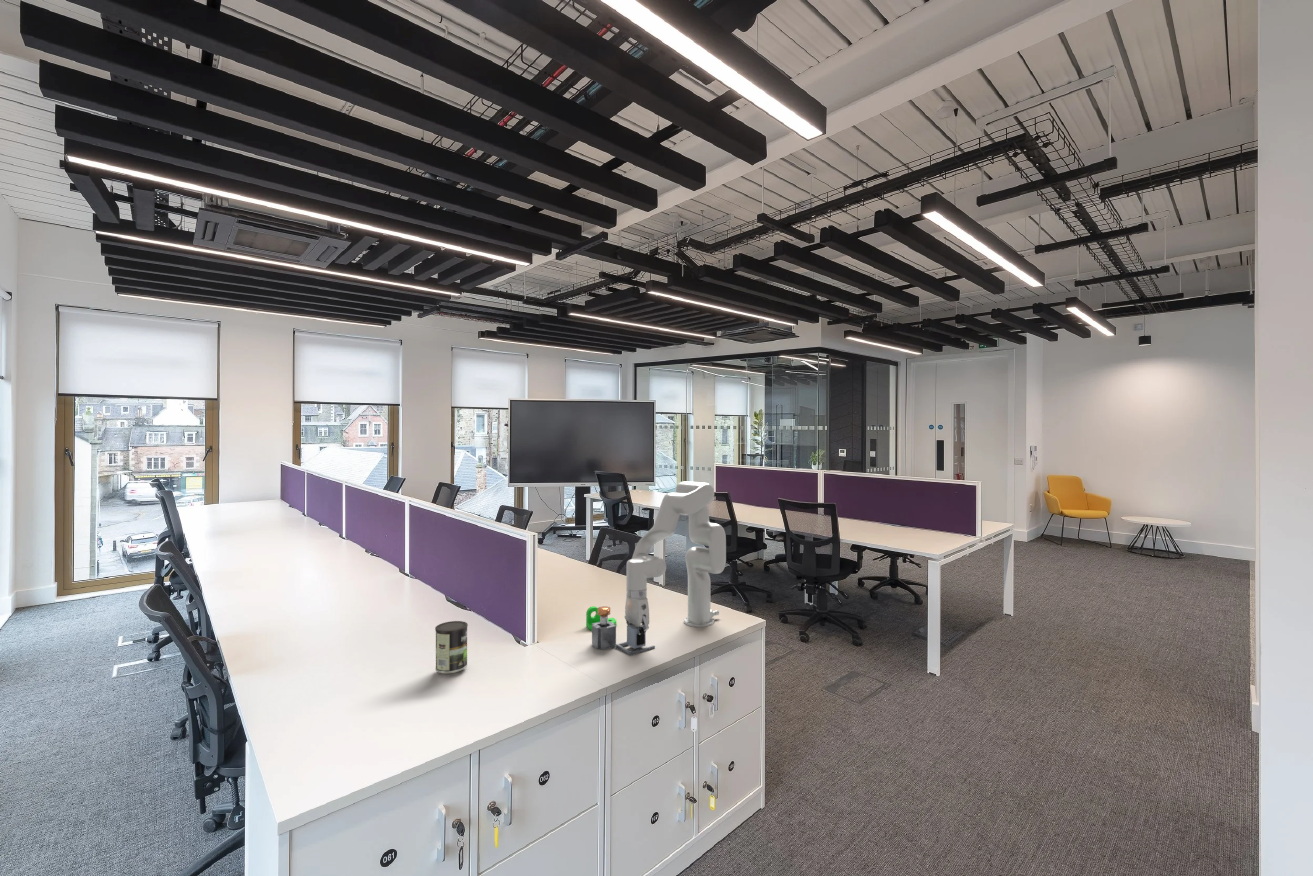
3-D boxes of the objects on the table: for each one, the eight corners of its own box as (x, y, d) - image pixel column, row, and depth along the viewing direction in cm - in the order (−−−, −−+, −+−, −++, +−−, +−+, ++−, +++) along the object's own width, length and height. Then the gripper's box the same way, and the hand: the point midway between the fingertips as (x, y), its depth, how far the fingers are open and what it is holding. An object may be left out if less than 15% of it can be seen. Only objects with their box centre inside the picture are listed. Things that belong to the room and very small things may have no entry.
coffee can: (469, 660, 189) (470, 619, 189) (464, 672, 179) (464, 630, 179) (439, 662, 187) (439, 621, 187) (431, 674, 177) (431, 632, 177)
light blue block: (638, 641, 202) (638, 619, 202) (645, 645, 198) (645, 622, 198) (626, 644, 199) (626, 621, 199) (634, 648, 195) (634, 625, 195)
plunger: (606, 627, 206) (606, 605, 206) (612, 631, 202) (612, 608, 202) (595, 630, 203) (595, 607, 203) (601, 634, 199) (601, 611, 199)
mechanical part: (590, 631, 218) (590, 611, 218) (586, 626, 224) (586, 607, 224) (618, 626, 223) (618, 607, 223) (613, 622, 229) (613, 603, 229)
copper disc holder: (607, 640, 208) (607, 620, 208) (617, 646, 201) (617, 625, 201) (590, 644, 203) (590, 624, 203) (599, 651, 197) (600, 629, 197)
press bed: (640, 640, 207) (640, 636, 207) (658, 651, 197) (658, 646, 197) (611, 648, 200) (611, 644, 200) (628, 659, 190) (628, 654, 190)
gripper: (658, 596, 194) (658, 647, 194) (632, 586, 208) (632, 633, 208) (640, 600, 190) (640, 652, 190) (615, 589, 204) (615, 637, 204)
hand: (636, 641), depth 199 cm, fingers closed on light blue block, 5 cm apart
